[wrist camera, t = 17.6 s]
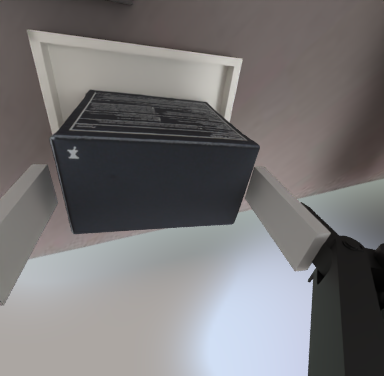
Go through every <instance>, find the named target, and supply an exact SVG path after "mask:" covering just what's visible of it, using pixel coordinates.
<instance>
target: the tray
mask: <svg viewBox="0 0 384 376" xmlns="http://www.w3.org/2000/svg"><path fill="white" fill-rule="evenodd" d="M27 34H28V38H29V42H30V46H31V50H32V54H33V58H34V62H35V66H36V70H37V74H38V78H39V82H40V87H41V91H42V95H43V99H44V103H45V107H46V111H47V115H48V119H49V123H50V127H51V131H52V135H53V134H54V133H56V132H57V131H58V130H59V128H60V127H61V126H62V125H63V124H64V122H65V121H66V120H67V118H68V117H69V116H70V115H71V114H72V112H73V111H74V109H75V108H76V107H77V106H78V105H79V104H80V102H81V101H82V100H83V99H84V97H85V94H86V93H87V92H88V91H89V90H97V91H108V92H119V93H128V94H141V95H146V96H156V97H165V98H174V99H184V100H193V101H201V102H207V103H208V104H209V105H210V106H211V107H212V108H213V109H214V110H216V111H217V112H218V113H219V114H220V115H221V116H223V117H224V118H225V119H226V120H227V121H228V122H230V117H231V113H232V108H233V103H234V98H235V93H236V89H237V84H238V79H239V74H240V69H241V65H242V60H243V59H240V58H233V57H225V56H218V55H211V54H203V53H196V52H189V51H182V50H174V49H167V48H160V47H152V46H145V45H138V44H131V43H123V42H116V41H109V40H101V39H94V38H87V37H80V36H72V35H65V34H58V33H50V32H43V31H36V30H29V29H27Z"/></svg>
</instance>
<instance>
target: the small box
mask: <svg viewBox="0 0 384 376" xmlns="http://www.w3.org/2000/svg"><path fill="white" fill-rule="evenodd" d="M49 140H50V144H51V147H52V151H53V156H54V159H55V163H56V168H57V172H58V177H59V181H60V184H61V188H62V193H63V198H64V201H65V206H66V210H67V214H68V219H69V222H70V227H71V231H72V233H73V234H84V233H100V232H114V231H129V230H145V229H162V228H177V227H194V226H211V225H229V224H233V223H234V222H235V219H236V217H237V214H238V211H239V208H240V206H241V202H242V200H243V197H244V194H245V191H246V188H247V185H248V182H249V179H250V176H251V173H252V170H253V167H254V164H255V161H256V158H257V155H258V152H259V149H260V146H259V145H258V144H257V143H256V142H254V141H253V140H250V139H249V138H248V137H247V136H245V135H244V134H242V133H241V132H240V131H239V130H238V129H236V128H235V127H234V126H233V125H232V124H231V123H229V122H228V121H227V120H226V119H225V118H224V117H223V116H221V115H220V114H219V113H218V112H217V111H216V110H214V109H213V108H212V107H211V106H210V105H209V104H208V103H207V102H201V101H193V100H184V99H174V98H165V97H156V96H146V95H141V94H128V93H119V92H108V91H97V90H89V91H88V92H87V93H86V94H85V97H84V99H83V100H82V101H81V102H80V104H79V105H78V106H77V107H76V108H75V109H74V111H73V112H72V114H71V115H70V116H69V117H68V118H67V120H66V121H65V122H64V124H63V125H62V126H61V127H60V128H59V130H58V131H57V132H56V133H54V134H53V135H52V136H51V137H50V139H49Z"/></svg>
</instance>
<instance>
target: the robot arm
mask: <svg viewBox="0 0 384 376" xmlns="http://www.w3.org/2000/svg"><path fill="white" fill-rule="evenodd" d="M245 199H246V200H247V202H248V203H249V205H250V206H251V208H252V209H253V211H254V212H255V213H256V215H257V217H258V218H259V219H260V221H261V222H262V224H263V225H264V227H265V228H266V230H267V231H268V233H269V234H270V236H271V237H272V239H273V240H274V241H275V243H276V244H277V246H278V247H279V249H280V250H281V252H282V253H283V255H284V256H285V258H286V259H287V261H288V262H289V264H290V265H291V267H292V268H293V269H294V271H303V270H308V268H309V266H310V265H311V263H313V264H314V265H315V267H316V269H315V270H314V272H313V273H312V275H311V276H310V278H309V279H308V282H311V280H312V279H313V293H312V311H311V330H310V348H309V366H308V376H384V244H381V245H380V246H379V247H378V248H377V249H376V250H373V249H368V248H364V246H363V245H361V244H360V243H359V242H358V241H356V240H354V239H352V238H350V237H347V236H339V235H338V234H337V233H336V232H335V231H334V230H333V229H332V228H331V227H329V225H328V224H326V223H325V222H324V221H323V220H322V219H321V218H320V217H319V216H318V215H317V214H316V213H315V212H314V211H313V210H312V209H311V208H310V207H308V206H307V205H305V204H303V203H302V202H299V201H298V200H297V199H296V198H295V197H294V196H293V195H292V194H291V193H290V192H289V191H288V190H287V189H286V188H285V187H284V186H283V185H282V184H281V183H280V182H279V181H278V180H277V179H276V178H275V177H274V176H273V175H272V174H271V173H270V172H269V171H268V170H267V169H266V168H265V167H254V170H253V173H252V177H251V180H250V183H249V186H248V190H247V193H246V196H245ZM57 204H58V200H57V197H56V193H55V190H54V186H53V182H52V179H51V175H50V172H49V168H48V165H47V164H32V165H31V166H30V167H29V168H28V169H27V170H26V171H25V172H24V174H23V175H22V176H21V177H20V178H19V179H18V180H17V181H16V182H15V183H14V184H13V185H12V187H11V188H10V189H9V190H8V191H7V192H6V193H5V194H4V195H3V196H2V197H1V199H0V306H2V305H4V304H5V302H6V300H7V299H8V296H9V295H10V293H11V291H12V289H13V287H14V285H15V283H16V281H17V279H18V277H19V276H20V274H21V272H22V270H23V268H24V266H25V264H26V262H27V261H28V259H29V257H30V255H31V253H32V251H33V249H34V247H35V245H36V244H37V242H38V240H39V238H40V236H41V234H42V232H43V230H44V228H45V227H46V225H47V223H48V221H49V219H50V217H51V215H52V213H53V211H54V210H55V208H56V206H57Z"/></svg>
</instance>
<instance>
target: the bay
mask: <svg viewBox="0 0 384 376" xmlns="http://www.w3.org/2000/svg"><path fill="white" fill-rule="evenodd" d="M107 1H113V2H119V3H124V4H130V5H132V0H107Z"/></svg>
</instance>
